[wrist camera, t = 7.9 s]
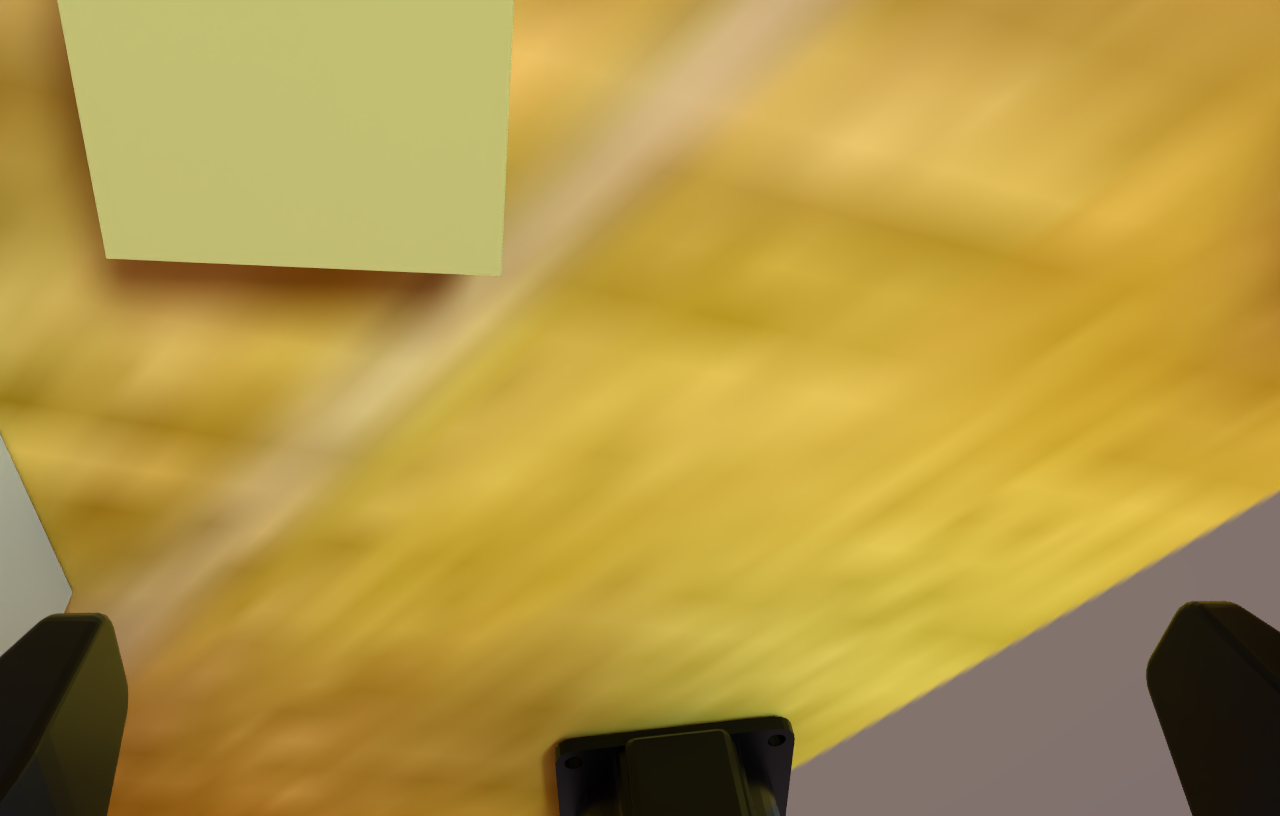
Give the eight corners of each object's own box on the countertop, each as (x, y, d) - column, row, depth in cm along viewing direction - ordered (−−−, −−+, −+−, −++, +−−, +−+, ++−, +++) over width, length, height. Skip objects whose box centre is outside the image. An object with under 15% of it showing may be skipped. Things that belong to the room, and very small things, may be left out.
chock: (499, 198, 20) (501, 276, 17) (154, 178, 19) (105, 258, 16) (511, -94, 17) (516, -51, 14) (106, -136, 16) (38, -96, 13)
